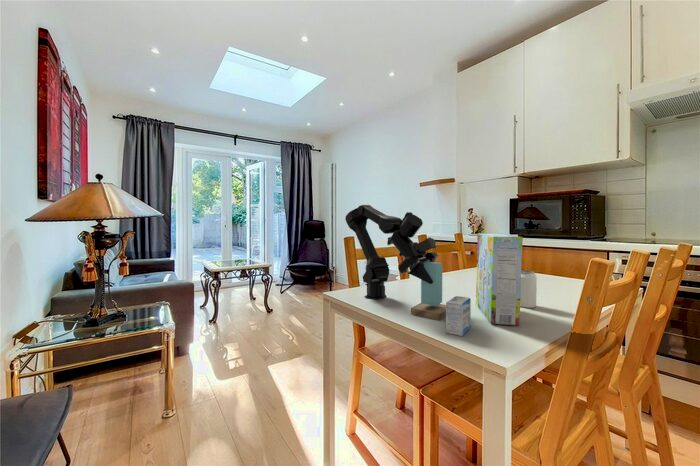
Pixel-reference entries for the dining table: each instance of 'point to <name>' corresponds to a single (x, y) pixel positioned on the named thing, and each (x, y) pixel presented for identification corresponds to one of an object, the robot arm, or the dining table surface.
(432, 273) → the carton
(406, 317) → the dining table surface
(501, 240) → the snack box
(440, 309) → the podium
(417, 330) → the dining table surface
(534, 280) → the can
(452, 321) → the medicine box
